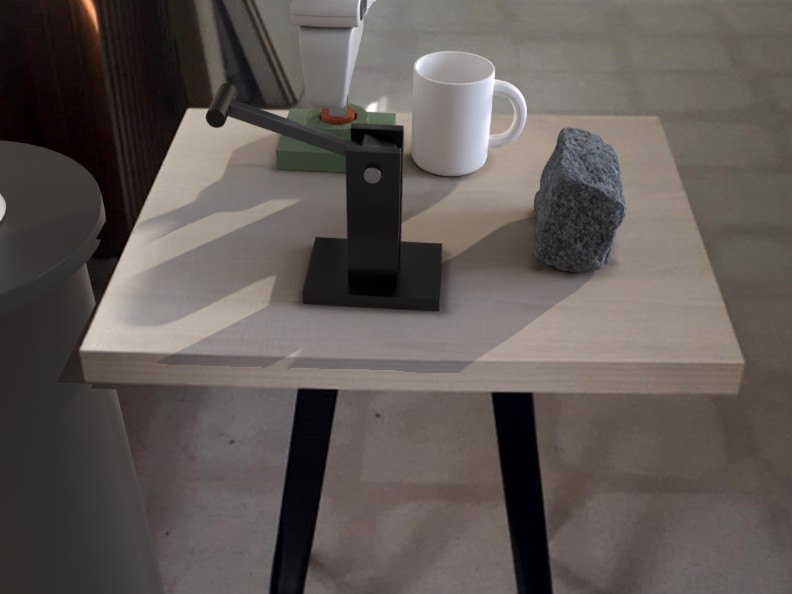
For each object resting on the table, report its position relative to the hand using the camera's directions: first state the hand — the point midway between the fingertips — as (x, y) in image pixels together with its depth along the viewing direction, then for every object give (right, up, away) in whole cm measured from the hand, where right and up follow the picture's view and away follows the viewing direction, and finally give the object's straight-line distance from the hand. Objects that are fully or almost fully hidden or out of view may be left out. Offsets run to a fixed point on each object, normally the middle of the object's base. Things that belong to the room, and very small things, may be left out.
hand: (339, 111), depth 102 cm
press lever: (-2, -10, -23) cm, 25 cm away
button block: (0, -3, +3) cm, 5 cm away
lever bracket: (+4, -20, -15) cm, 25 cm away
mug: (+14, -5, +2) cm, 15 cm away
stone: (+23, -16, -10) cm, 29 cm away
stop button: (0, -1, +1) cm, 2 cm away
